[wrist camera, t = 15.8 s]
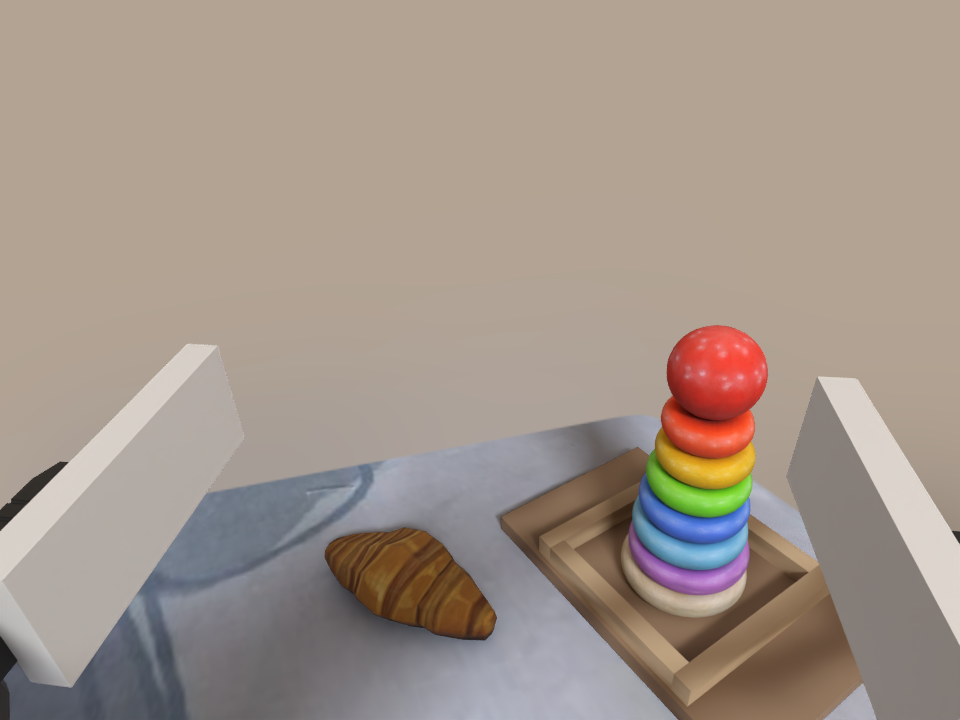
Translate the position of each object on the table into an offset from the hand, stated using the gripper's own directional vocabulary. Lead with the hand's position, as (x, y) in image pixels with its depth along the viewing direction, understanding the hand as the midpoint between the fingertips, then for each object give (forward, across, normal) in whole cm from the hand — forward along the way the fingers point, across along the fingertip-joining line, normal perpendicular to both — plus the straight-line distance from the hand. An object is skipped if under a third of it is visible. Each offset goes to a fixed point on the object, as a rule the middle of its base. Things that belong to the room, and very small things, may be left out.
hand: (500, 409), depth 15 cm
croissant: (+16, -8, -29) cm, 34 cm away
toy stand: (+19, +10, -28) cm, 35 cm away
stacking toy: (+19, +10, -27) cm, 34 cm away
